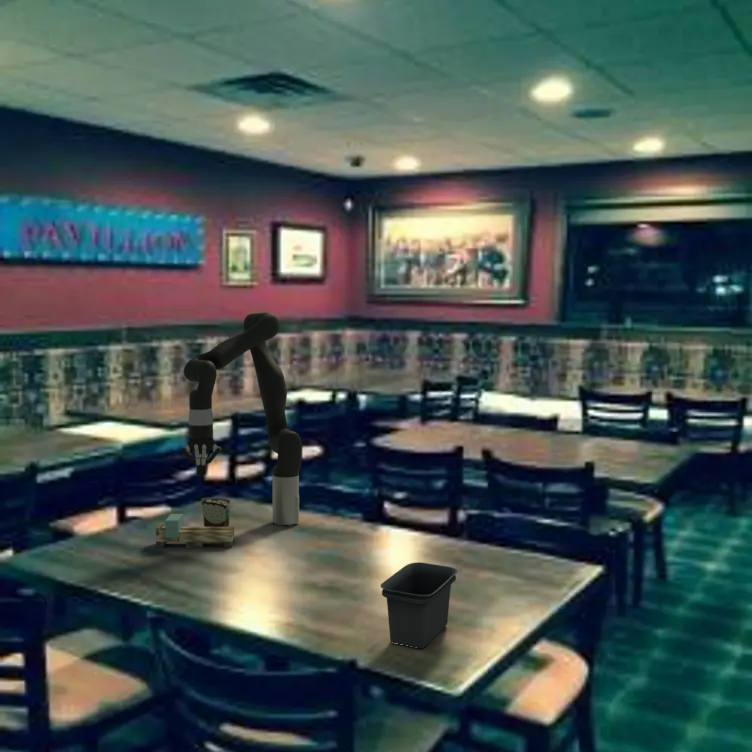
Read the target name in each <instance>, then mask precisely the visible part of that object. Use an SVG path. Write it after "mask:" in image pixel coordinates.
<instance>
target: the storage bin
mask: <svg viewBox="0 0 752 752" xmlns="http://www.w3.org/2000/svg"><path fill="white" fill-rule="evenodd" d="M458 572H459V571H458V569H457V568H455V567H452V566H445V565H440V564H433V563H427V562H411V563H408V564H406V565H404V566H403V567H401V568H400V569H399V570H398V571H396V572H395V573H394V574H393V575H391V576H390V577H389V578H387V579H386V580H384V581H383V582H382V583H380V588H381V589H382V590H381V595H382V596H383V597H384V598H386V604H387V615H388V616H387V617H388V628H389V639H390V641H389V642H390V643H391V642H393V643H398V644H403V645H408V646H412V647H417V648H423V649H425V648H426V647H427V646H428V645H427V644H428V643H431V642H432V641H433V639H434V638H435V637H436V636H437V635H438V634H440V632H441V631H442V630H443V629H444V628H445V627H446V626H447V624H448V620H449V609H450V608H449V607H450V597H451V591H452V590H451V588H452V587H451V586H452V584H454V582H455V581H457V576H456V574H457V573H458ZM393 643H392V644H393ZM426 645H427V646H426ZM425 646H426V647H425ZM412 647H411V648H412ZM424 647H425V648H424ZM417 648H416V649H417Z"/></svg>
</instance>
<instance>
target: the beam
mask: <svg viewBox="0 0 752 752" xmlns="http://www.w3.org/2000/svg"><path fill="white" fill-rule="evenodd" d="M168 542H170V543H171V542H172V543H173V542H176V543H177V542H178V543H179V542H184V543H185V549H202V548H203V547H204V545H205V543H207V542H214V543H215V542H217V543H219V542H221V543H222V542H224V543H223V545H224V547H232V546H233V547H234V545H235V526H229V527H204V526H183V527H181V530H179V537H178V538H165V526H164V523H163V522H159V524H158V525H157V526H156V528H155V545H156V546H155V548H156V547H164V546H165V547H166V546H167V544H168ZM166 543H167V544H166ZM202 546H203V547H202ZM165 547H164V548H165ZM224 547H223V548H224ZM233 547H232V548H233Z"/></svg>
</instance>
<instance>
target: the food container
mask: <svg viewBox="0 0 752 752" xmlns="http://www.w3.org/2000/svg"><path fill="white" fill-rule="evenodd" d="M200 505H201V506H202V507H201V508H202V517H203V527H230V519H231V518H230V517H231V516H230V514H231V509H232V508H233V502H232V501H231V499H229V498H224V497H206V498H201V502H200Z"/></svg>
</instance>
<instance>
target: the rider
mask: <svg viewBox="0 0 752 752" xmlns="http://www.w3.org/2000/svg"><path fill="white" fill-rule="evenodd" d="M164 524H165V525H164V527H165V538H178V537H179V530H181V527H184V513H170V514H169V515H168V517H167V518H166V519H165V523H164Z"/></svg>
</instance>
